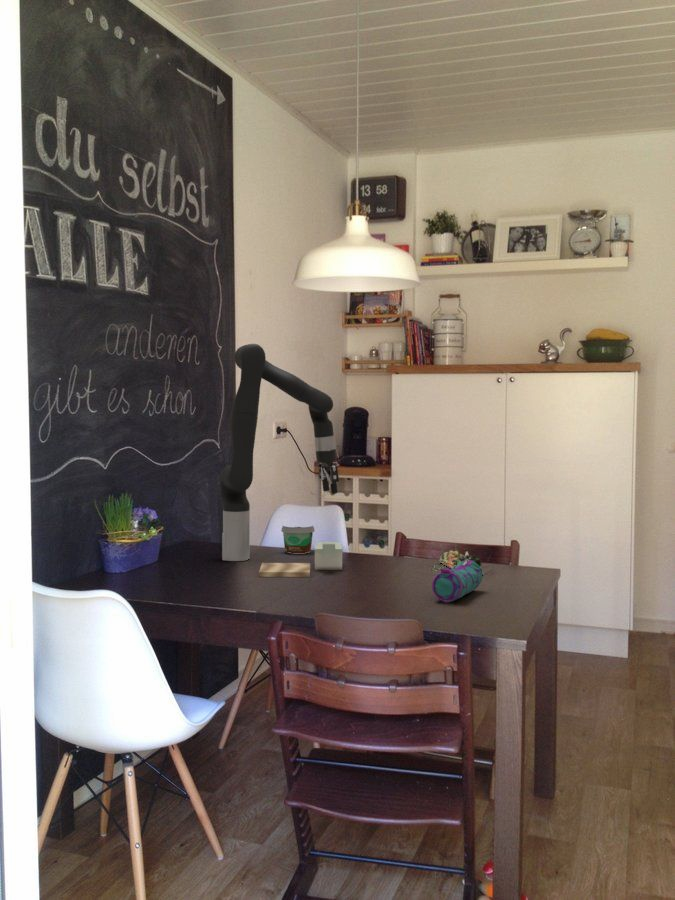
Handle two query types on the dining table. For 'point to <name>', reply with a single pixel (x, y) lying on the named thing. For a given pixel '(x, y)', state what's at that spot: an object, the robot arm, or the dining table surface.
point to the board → (284, 570)
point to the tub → (328, 561)
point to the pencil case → (457, 581)
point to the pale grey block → (328, 548)
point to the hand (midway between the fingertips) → (330, 492)
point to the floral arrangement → (455, 559)
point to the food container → (297, 539)
